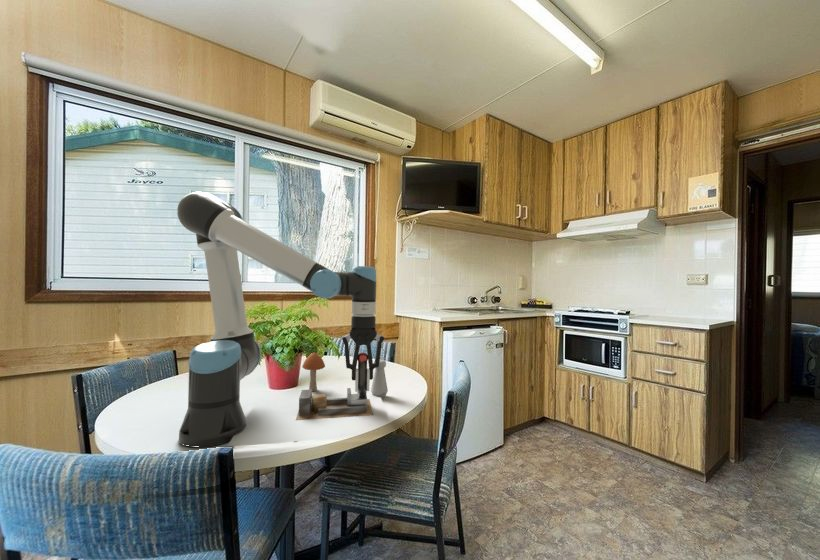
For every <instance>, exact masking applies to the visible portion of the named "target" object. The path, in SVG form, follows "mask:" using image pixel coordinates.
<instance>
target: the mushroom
mask: <svg viewBox="0 0 820 560" xmlns="http://www.w3.org/2000/svg"><path fill="white" fill-rule="evenodd" d="M301 367H302V368H303V369H304V370H307V371H309V372H310V373H309V375H310V377H309V387H308V390H312V393H313V392H317V390H318V387H317V371H319V370H323V369H324V368H325V367H326V364H325V361H324V360H323V358H322V356H320V355H319V354H318V353H317V352H315V351H314V352H312V353H311V354H309V355H308V356H307V357H306V359H305V360H304V361H303V364H302V366H301Z"/></svg>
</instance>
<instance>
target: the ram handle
mask: <svg viewBox="0 0 820 560" xmlns="http://www.w3.org/2000/svg"><path fill="white" fill-rule="evenodd" d="M357 368H358V392H357V393H352V389H351V387H347V388H346V398H347V407H351V406H366V409H367V400H368V399H369V398H368V396H367V392H368V391H367V368H368V355H367V352H365V351H364V352H363V351H362V352H359V354H358V360H357Z"/></svg>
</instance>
